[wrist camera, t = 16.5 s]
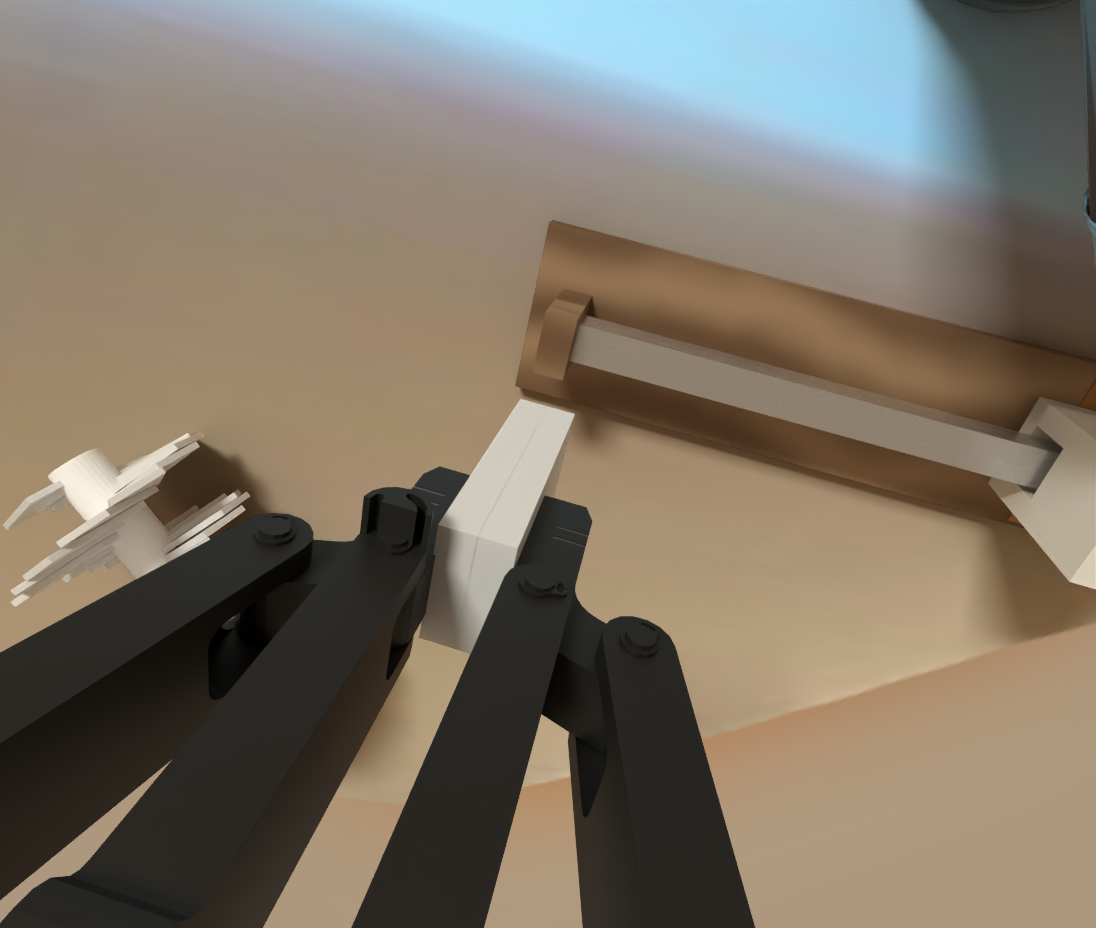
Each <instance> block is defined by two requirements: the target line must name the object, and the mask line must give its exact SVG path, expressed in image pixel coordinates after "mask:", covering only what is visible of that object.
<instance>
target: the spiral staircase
mask: <svg viewBox="0 0 1096 928" xmlns="http://www.w3.org/2000/svg"><path fill="white" fill-rule="evenodd" d="M203 437H205V436H204V435H203V434H202V432H199V433H197V434H195V435H192V436H191V435H190V434H188V433H187V434H185V435H183V436H182V437H180V438H179V439H176V440H174V441H173V442H171V443H169V444H167V445H165V446H164V447H162V448H160V449H158V450H156V451H155V452H153V453H151V454H149V455H144V456H142V457H140V458H138V459H135V460H133V461H131V462H129V463H126V464H124V465H122V466H120V467H118V468H115V467H114V466H113V465H112V463H111V462H110V461H109V460H108V459H107V457H106V456H105V455H104V454H103V453H102V451H101V450H100V449H99V448H94V449H91V450H89V451H87V452H85V453H83V454H81V455H79V456H77V457H75V458H73V459H72V460H70V461H68V462H66V463H65V464H63V465H62V466H60V467H59V468H57V469H56V470H54V471H53V472H52V473H51V474H50V475H49V476H48V478H49V479H50V480H51V481H52V482H53V483H54V484H52V485H50V486H48V487H46V488H44V489H42V490H41V491H39V492H37V493H35V494H33V495H31V496H29V497H27V498H26V499H25V500H24V501H23V502H22V503H21V505H20V506H19V507H18V508H17V509H16V510H15V512H14V513H13V514H12V515H11V516H10V517H9V519H8V520H7V521H6V522H5V523H4V524H3V526H4V527H5V529H6V530H8V529H10V528H12V527H13V526H15V525H17V524H19V523H21V522H22V521H24V520H26V519H28V518H30V517H32V516H33V515H35V514H37V513H39V512H41V511H46V510H52V511H53V512H55V511H57V510H59V509H61V508H64V507H66V506H68V505H70V504H72V505H73V506H74V508H75V509H76V510H77V511H78V512H79V513H80V515H81V516H82V517H83V518H84V519H85V520H86V521H87V522H86V523H84V524H83V525H81V526H80V527H78V528H77V529H75V530H74V531H72V532H71V533H69V534H68V535H66V536H65V537H63V538H62V539H60V540H59V541H57V542H56V543H57V544H58V545H59V546H60V547H63V546H65V545H67V544H68V545H67V546H65V547H63V548H62V549H60V550H58V551H57V552H55V553H53V554H52V555H50V556H48V557H47V558H45V559H44V560H43V561H41V562H40V563H39V564H37V565H36V566H35V567H33V568H32V569H31V570H29V571H28V572H27V573H25V574H24V575H23V576H22V577H23V578H24V579H25V580H26V581H24V582H23V583H21V584H19V585H18V586H16V587H15V588H13V589H12V590H10V591H11V592H12V593H13V594H14V595H15V596H16V595H20V594H22V593H23V594H22V595H20V596H19V597H17V598H16V599H14V600H13V601H11V603H12V604H13V605H14V606H15V607H16V606H17V605H19V604H21V603H22V602H24V601H26V600H27V599H29V598H31V597H32V596H34V595H36V594H37V593H39V592H40V591H42V590H44V589H45V588H47V587H48V586H50V585H52V584H53V583H55V582H56V581H58V580H59V579H61V578H62V577H63V578H62V579H63V580H64V581H65V582H66V583H67V582H68V581H70V580H71V579H73V578H74V577H76V576H77V575H79V574H80V573H82V572H84V571H85V570H87V569H89V570H90V572H91V573H92V572H93V571H95V570H97V569H98V568H100V567H101V566H103V565H105V566H106V567H107V568H108V569H110V568H111V567H113V566H114V565H116V564H117V563H119V562H120V561H121V562H122V563H123V564H124V565H125V566H126V568H127V569H128V570H129V571H130V572H131V573H132V575H133V576H134V577H135V578H136V579H138V578H140V577H141V576H143V575H145V574H147V573H149V572H151V571H153V570H154V569H156V568H158V567H160V566H162V565H164V564H166V563H167V562H169V561H171V560H173V559H175V558H177V557H179V556H180V555H182V554H184V553H186V552H188V551H190V550H192V549H193V548H195V547H197V546H199V545H201V544H203V543H205V542H206V541H208V540H210V539H209V536H210V535H211V534H213V533H214V532H216V531H217V530H218V529H220V528H221V527H223V526H224V525H225V524H227V523H228V522H229V521H231V520H232V519H234V518H235V517H236V516H238V515H239V514H241V513H242V512H243V511H245V509H244V507H243V506H242V505H241V506H240V507H238V508H236V509H235V510H233V511H232V512H230V513H229V514H227V515H225V514H226V513H228V512H229V511H231V510H232V509H233V508H235V507H236V506H238V505H239V504H240V503H242V502H243V501H244V500H246V499H247V498H249V497H250V495H249V494H248V492H245V493H244V494H242V493H241V492H240V491H239V490H236V491H235V492H233V493H232V494H230V495H229V496H227V495H226V494H225V493H224V494H222V495H221V496H219V497H218V498H216V499H215V500H213V501H212V502H210V503H209V504H207V505H206V506H204V507H203V508H201V509H200V510H199V508H198V507H197V506H196V505H195V506H193V507H192V508H190V509H189V510H187V511H186V512H184V513H183V514H181V515H179V516H178V517H176V518H175V519H173V520H172V521H170V522H169V523H167V524H165V525H163V524H162V523H161V522H160V521H159V520H158V518H157V517H156V516H155V515H154V514H153V512H152V511H151V510H150V509H149V508H148V506H147V505H146V503H145V502H144V500H145V499H147V498H148V497H150V496H151V495H153V494H154V493H156V492H157V491H159V489H158V488H157V487H156V486H157V485H158V484H160V482H161V480H162V478H163V477H164V475H165V473H166V471H168V470H169V469H170V468H172V467H173V466H174V465H176V464H177V463H178V462H180V461H181V460H182V459H184V458H185V457H186V456H188V455H189V454H190V453H192V452H193V451H194V450H196V449H197V448H198V447H200V446H199V445H198V443H197V441H199V440H200V439H202V438H203ZM241 494H242V495H241ZM239 495H241V496H239ZM238 496H239V497H238ZM237 497H238V498H237ZM235 498H236V499H235ZM234 499H235V500H234ZM231 501H232V502H231ZM228 503H229V504H228ZM225 505H226V506H225ZM222 507H223V508H222ZM219 509H220V510H219ZM197 510H198V511H197ZM196 511H197V512H196ZM216 511H217V512H216ZM194 512H195V513H194ZM193 513H194V514H193ZM213 513H214V514H213ZM191 514H192V515H191ZM190 515H191V516H190ZM224 515H225V516H224ZM188 516H189V517H188ZM222 516H224V517H222ZM187 517H188V518H187ZM220 517H222V518H221V519H219V518H220ZM185 518H186V519H185ZM184 519H185V520H184ZM217 519H219V520H217ZM182 520H183V521H182ZM216 520H217V521H216ZM181 521H182V522H181ZM214 521H216V522H214ZM179 522H180V523H179ZM213 522H214V523H213ZM178 523H179V524H178ZM211 523H213V524H211ZM176 524H177V525H176ZM210 524H211V525H210ZM175 525H176V526H175ZM208 525H210V526H208ZM173 526H174V527H173ZM207 526H208V527H207ZM172 527H173V528H172ZM205 527H206V528H205ZM170 528H171V529H170ZM204 528H205V529H204ZM169 529H170V530H169ZM202 529H203V530H202ZM201 530H202V531H201ZM199 531H200V532H199ZM198 532H199V533H198ZM196 533H197V534H196ZM193 535H194V536H193ZM191 536H192V537H191ZM190 537H191V538H190ZM188 538H189V539H188ZM187 539H188V540H187ZM185 540H187V541H185ZM184 541H185V542H184ZM71 542H72V543H71ZM182 542H184V543H182ZM69 543H70V544H69ZM181 543H182V544H181ZM179 544H181V545H179ZM65 575H66V576H65ZM64 576H65V577H64ZM42 580H43V581H42ZM39 582H40V583H39ZM36 584H37V585H36ZM33 586H34V587H33ZM30 588H31V589H30ZM28 589H29V590H28ZM27 590H28V591H27ZM25 591H26V592H25ZM24 592H25V593H24ZM234 617H235V616H234ZM231 619H232V618H231ZM228 621H229V620H228Z"/></svg>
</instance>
